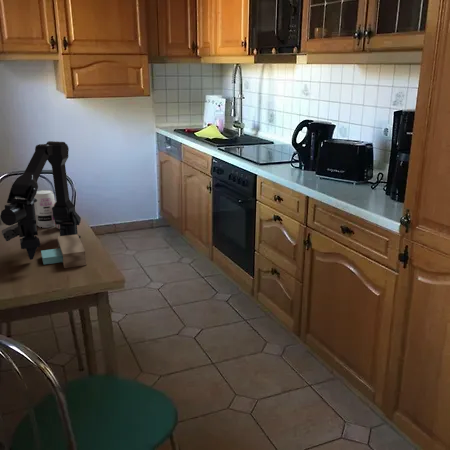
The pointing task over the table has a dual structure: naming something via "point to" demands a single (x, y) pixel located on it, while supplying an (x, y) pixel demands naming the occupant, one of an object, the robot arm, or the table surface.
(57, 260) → the teal rectangular block
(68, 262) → the block
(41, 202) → the supplement can
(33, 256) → the robot arm
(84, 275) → the table surface
